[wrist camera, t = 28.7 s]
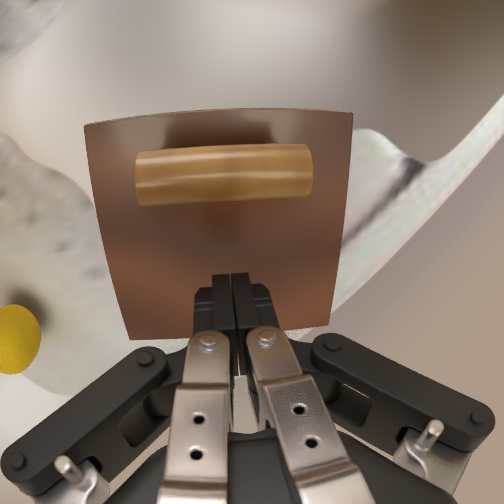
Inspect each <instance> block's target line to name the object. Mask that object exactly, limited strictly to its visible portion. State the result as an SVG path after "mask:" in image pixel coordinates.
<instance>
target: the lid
mask: <svg viewBox="0 0 504 504" xmlns="http://www.w3.org/2000/svg"><path fill="white" fill-rule="evenodd" d="M352 123H353V113H351V112H347V111H335V110H318V109H294V108H238V109H213V110H195V111H182V112H171V113H160V114H152V115H143V116H135V117H127V118H120V119H114V120H107V121H102V122H95V123H90V124H87V125H85V126H84V133H85V141H86V150H87V157H88V164H89V171H90V178H91V184H92V189H93V196H94V201H95V207H96V212H97V217H98V222H99V227H100V232H101V236H102V241H103V245H104V250H105V254H106V258H107V262H108V266H109V270H110V274H111V278H112V282H113V285H114V289H115V293H116V296H117V300H118V303H119V307H120V310H121V313H122V317H123V320H124V323H125V326H126V330H127V333H128V336H129V339H130V340H155V339H181V338H191V337H192V336H193V316H194V296H195V294H196V292H197V291H198V289H199V288H200V287H212V275H216V274H229V275H230V284H231V273H245V272H248V273H249V278H250V282H251V284H257V283H262V284H263V285H264V286H265V287H266V288H268V289H269V292H270V295H271V299H272V302H273V306H274V309H275V312H276V315H277V319H278V322H279V326H280V329H281V330H283V331H285V330H294V329H303V328H311V327H319V326H327V325H328V324H329V318H330V313H331V307H332V301H333V295H334V289H335V283H336V276H337V270H338V263H339V256H340V249H341V241H342V233H343V225H344V217H345V208H346V199H347V189H348V178H349V167H350V155H351V141H352ZM231 292H232V291H231Z"/></svg>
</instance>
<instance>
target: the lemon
mask: <svg viewBox="0 0 504 504" xmlns="http://www.w3.org/2000/svg"><path fill="white" fill-rule="evenodd" d="M40 341H41V332H40V327H39V324H38V321H37V320H36V318H35V316H34V315H33V314H32V313H31V312H30V311H29V310H28V309H26V308H25V307H23V306H20V305H15V304H12V305H6V306H4V307H2V308H0V372H2V373H5V374H18V373H20V372H22V371H23V370H25V369H26V368H27V367H28V366H29V365H30V364H31V362H32V361H33V359H34V358H35V356H36V355H37V352H38V350H39V346H40Z"/></svg>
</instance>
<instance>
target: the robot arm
mask: <svg viewBox="0 0 504 504" xmlns="http://www.w3.org/2000/svg"><path fill="white" fill-rule="evenodd" d="M231 291H232V292H231ZM237 353H238V356H237ZM238 360H239V368H240V376H241V375H246V376H247V382H248V395H249V399H250V403H251V406H252V410H253V414H254V418H255V422H256V425H257V430H258V432H256V433H253V434H243V433H235V432H234V405H233V404H234V401H233V400H234V397H233V396H234V394H233V390H234V385H235V384H234V376H239V374H238ZM344 384H346V385H348V386H350V387H351V388H353V389H355V390H357V391H359V392H360V393H362V394H364V395H366V396H367V397H368V398H367V397H366V396H364V395H362V394H360V393H358V392H357V391H355V390H353V389H351V388H349V387H348V386H346V385H344ZM333 422H334V423H336V424H337V425H339V426H341V427H342V428H344V429H346V430H347V431H349V432H351V433H352V434H354V435H356V436H358V437H359V438H361V439H363V440H365V441H366V442H368V443H370V444H371V445H373V446H375V447H377V448H379V449H380V450H382V451H384V452H386V453H388V454H390V455H391V456H393V460H394V462H393V461H391V460H389V459H388V458H386V457H384V456H382V455H381V454H379V453H377V452H376V451H374V450H372V449H371V448H369V447H368V446H366V445H364V444H363V443H361V442H360V441H358V440H356V439H355V438H353V437H351V436H350V435H348V434H345V433H344V432H341V431H338V430H336V427H335V425H334V423H333ZM169 426H170V431H169V438H168V445H166V446H164V447H162V448H160V449H159V450H157V451H156V452H155V453H153V454H152V455H151V456H150V457H149V458H148V459H147V460H146V461H145V462H144V463H143V464H142V465H141V466H140V467H139V468H138V469H137V470H136V471H135V472H134V473H133V474H132V475H131V476H130V477H129V478H128V479H127V480H126V481H125V482H124V483H123V484H122V485H121V486H120V487H119V488H118V489H117V490H116V491H115V492H114V493H113V494H112V495H111V496H110V487H109V483H110V482H111V481H112V480H113V479H114V478H115V477H116V476H117V475H118V474H120V473H121V472H122V471H123V470H124V469H125V468H126V467H127V466H128V465H129V464H130V463H131V462H132V461H134V460H135V459H136V458H137V457H138V456H139V455H140V454H141V453H142V452H143V451H144V450H145V449H146V448H147V447H148V446H150V445H151V444H152V443H153V442H154V441H155V440H156V439H157V438H158V437H159V436H160V435H161V434H162V433H163V432H164V431H165V430H166V429H167V428H168V427H169ZM494 426H495V417H494V414H493V412H492V411H491V409H490V408H489V407H488V406H486V405H485V404H483V403H481V402H479V401H477V400H475V399H472V398H470V397H468V396H466V395H464V394H462V393H459V392H457V391H455V390H453V389H451V388H449V387H447V386H444V385H442V384H440V383H438V382H436V381H434V380H432V379H429V378H428V377H425V376H423V375H421V374H419V373H417V372H415V371H413V370H411V369H409V368H407V367H405V366H403V365H401V364H398V363H397V362H395V361H393V360H390V359H388V358H386V357H384V356H382V355H380V354H378V353H376V352H374V351H372V350H370V349H368V348H366V347H364V346H362V345H360V344H358V343H356V342H354V341H352V340H350V339H349V338H347V337H345V336H342V335H339V334H336V333H326V334H322V335H319V336H317V337H316V338H315V339H314V341H313V343H305V342H298V341H295V340H292V339H290V338H288V337H287V335H286V333H285V332H284V331H283V330H281V329H280V326H279V322H278V319H277V315H276V312H275V309H274V306H273V302H272V299H271V295H270V292H269V289H268V288H266V287H265V286H264V285H263V284H262V283H257V284H251V282H250V278H249V273H248V272H245V273H231V284H230V275H229V274H216V275H212V287H200V288H199V289H198V291H197V292H196V294H195V296H194V316H193V336H192V337H191V338H190V339H189V341H188V345H187V346H186V347H185V348H183V349H182V350H180V351H177V352H174V353H170V354H167V355H166V354H165V353H164V352H163V351H162V350H161V349H159V348H156V347H150V346H147V347H141V348H138V349H136V350H134V351H133V352H131V353H130V354H129V355H127V356H126V357H125V358H124V359H122V360H121V361H120V362H118V363H117V364H116V365H115V366H113V367H112V368H111V369H109V370H108V371H107V372H105V373H104V374H103V375H102V376H100V377H99V378H98V379H96V380H95V381H94V382H92V383H91V384H90V385H89V386H87V387H86V388H85V389H83V390H82V391H81V392H79V393H78V394H77V395H76V396H74V397H73V398H72V399H70V400H69V401H68V402H66V403H65V404H64V405H63V406H61V407H60V408H59V409H57V410H56V411H55V412H54V413H52V414H51V415H49V416H48V417H47V418H46V419H44V420H43V421H42V422H40V423H39V424H38V425H36V426H35V427H34V428H32V429H31V430H30V431H29V432H27V433H26V434H25V435H24V436H22V437H21V438H19V439H18V440H17V441H15V442H14V443H13V444H12V445H10V446H9V447H8V448H7V449H6V450H5V451H4V453H3V454H2V456H1V461H0V465H1V470H2V473H3V474H4V476H5V477H6V478H7V479H8V480H9V481H11V482H12V483H13V484H14V485H16V486H17V487H18V488H19V489H20V491H21V492H23V493H24V494H25V495H27V496H28V497H29V498H30V499H32V500H33V501H34V502H35V504H458V503H457V501H456V500H455V499H454V498H453V496H452V495H453V493H454V491H455V489H456V487H457V485H458V483H459V481H460V479H461V477H462V475H463V473H464V470H465V468H466V466H467V464H468V461H469V459H470V457H471V454H472V453H473V452H474V451H475V450H476V449H477V448H478V446H479V445H480V444H481V443H482V442H483V441H484V440H485V439H486V437H487V436H488V435H489V434H490V433H491V432H492V430H493V429H494ZM109 496H110V497H109Z"/></svg>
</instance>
